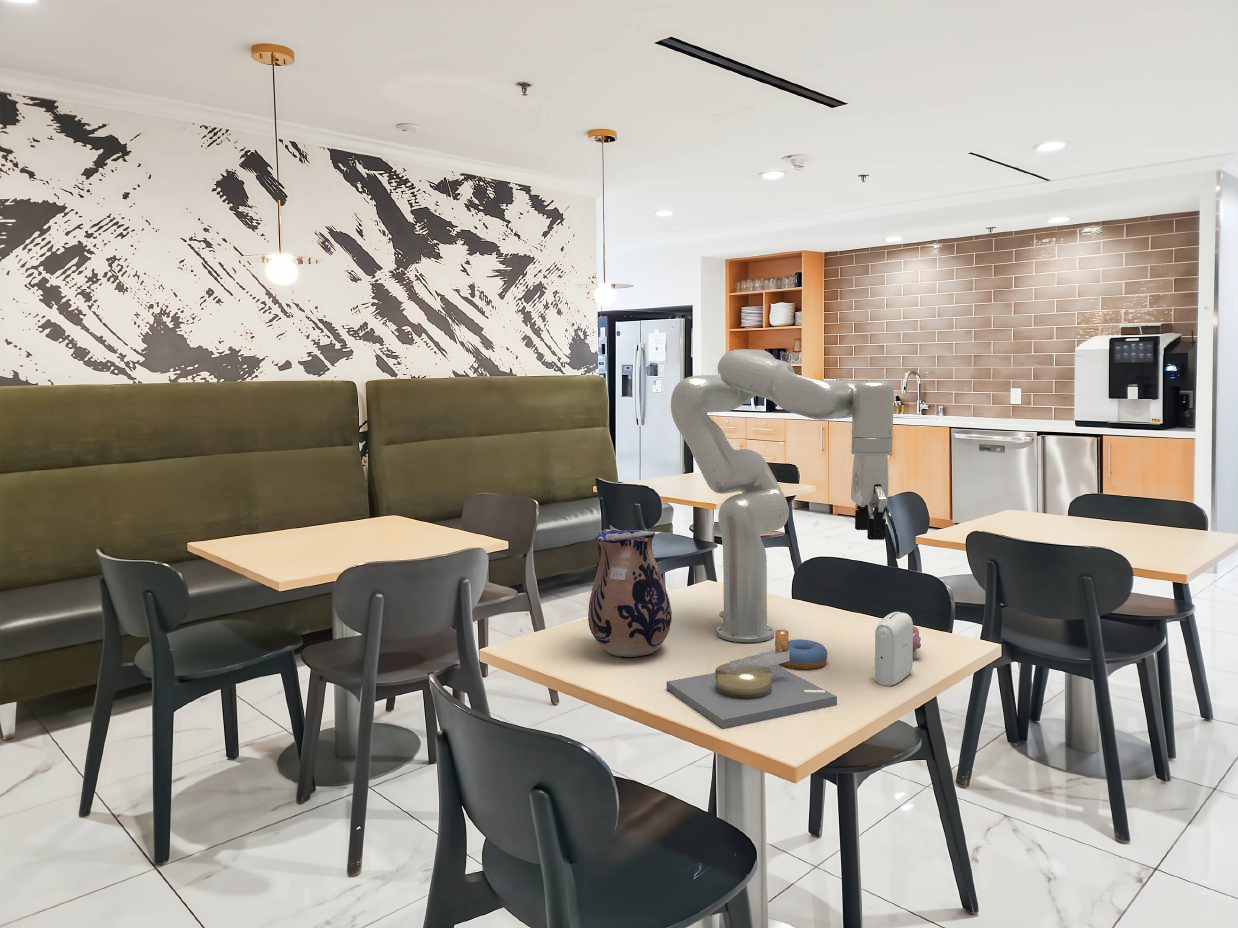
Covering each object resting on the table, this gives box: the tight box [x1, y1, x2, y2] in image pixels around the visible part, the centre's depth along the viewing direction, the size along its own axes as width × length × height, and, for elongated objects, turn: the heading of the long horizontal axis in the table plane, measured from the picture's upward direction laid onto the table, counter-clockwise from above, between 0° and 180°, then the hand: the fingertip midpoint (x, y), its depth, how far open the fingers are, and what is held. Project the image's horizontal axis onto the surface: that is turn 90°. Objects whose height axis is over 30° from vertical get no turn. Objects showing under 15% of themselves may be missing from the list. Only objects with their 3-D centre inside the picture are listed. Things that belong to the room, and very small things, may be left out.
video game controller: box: [913, 625, 922, 653], centre depth 176 cm, size 10×5×7 cm, turn 169°
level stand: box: [666, 664, 838, 729], centre depth 154 cm, size 20×23×2 cm
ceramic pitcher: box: [587, 528, 673, 658], centre depth 181 cm, size 18×21×25 cm
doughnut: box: [780, 638, 828, 670], centre depth 171 cm, size 10×10×5 cm
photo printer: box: [874, 611, 914, 687], centre depth 161 cm, size 10×4×12 cm, turn 140°
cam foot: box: [714, 629, 790, 698], centre depth 154 cm, size 16×10×8 cm, turn 124°
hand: (869, 534), depth 166 cm, fingers open, 9 cm apart
